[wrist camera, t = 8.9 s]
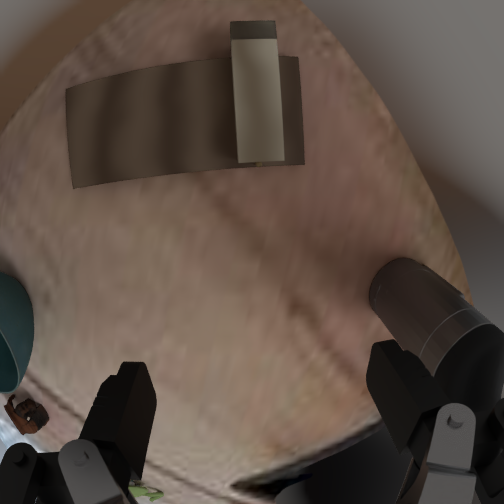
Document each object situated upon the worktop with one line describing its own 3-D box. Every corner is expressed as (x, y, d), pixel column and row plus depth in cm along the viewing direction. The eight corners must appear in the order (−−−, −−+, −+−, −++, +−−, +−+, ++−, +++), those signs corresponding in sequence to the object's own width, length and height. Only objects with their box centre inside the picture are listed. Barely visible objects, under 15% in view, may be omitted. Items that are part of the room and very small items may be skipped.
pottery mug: (52, 426, 48) (27, 443, 41) (29, 394, 50) (4, 409, 43) (50, 411, 42) (20, 431, 35) (23, 373, 44) (-6, 390, 37)
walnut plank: (294, 61, 29) (298, 56, 27) (300, 163, 33) (304, 164, 31) (73, 91, 28) (65, 89, 26) (80, 186, 32) (73, 188, 30)
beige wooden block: (267, 41, 27) (275, 20, 21) (275, 163, 32) (284, 168, 26) (230, 43, 27) (230, 21, 21) (238, 166, 32) (239, 170, 26)
